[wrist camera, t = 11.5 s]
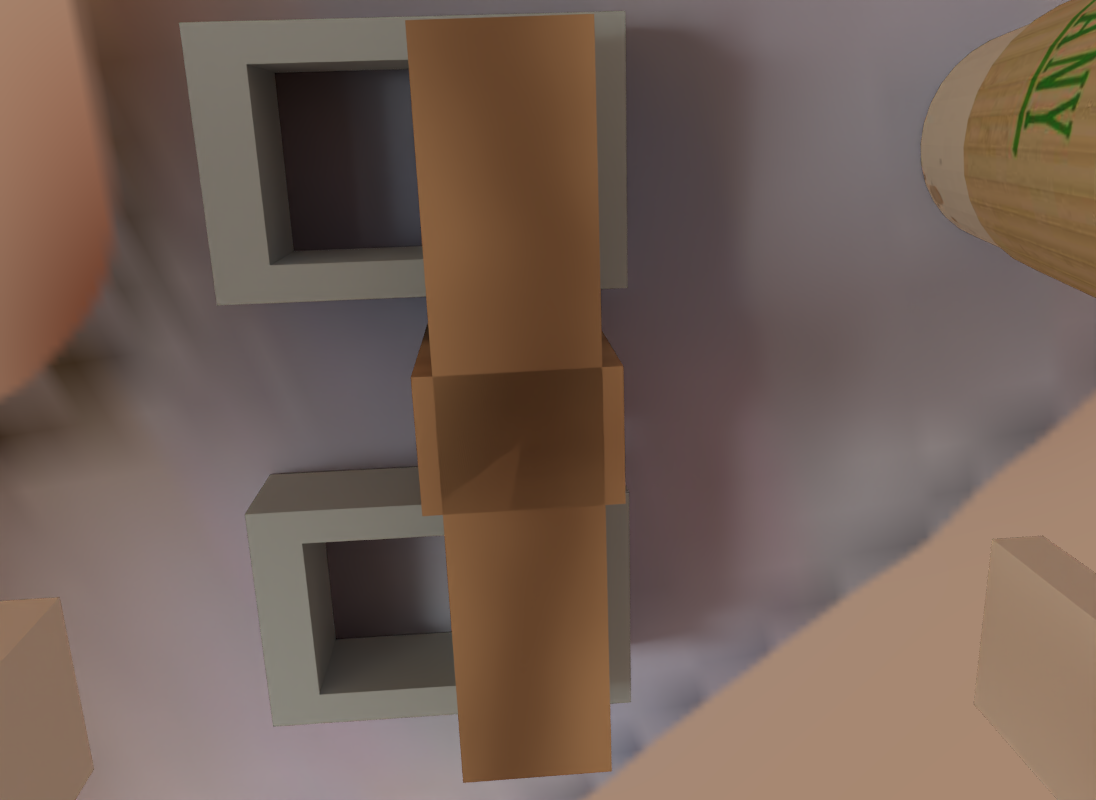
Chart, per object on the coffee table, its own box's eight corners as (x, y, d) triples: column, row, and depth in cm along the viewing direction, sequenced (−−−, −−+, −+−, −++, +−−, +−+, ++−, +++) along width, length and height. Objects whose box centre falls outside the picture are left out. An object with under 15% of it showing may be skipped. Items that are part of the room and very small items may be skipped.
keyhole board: (294, 668, 31) (273, 726, 28) (215, 36, 25) (178, 22, 22) (616, 647, 32) (631, 702, 29) (608, 25, 26) (625, 11, 23)
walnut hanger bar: (453, 644, 31) (444, 784, 24) (408, 51, 26) (381, 20, 19) (599, 635, 31) (630, 769, 25) (583, 45, 26) (617, 13, 19)
